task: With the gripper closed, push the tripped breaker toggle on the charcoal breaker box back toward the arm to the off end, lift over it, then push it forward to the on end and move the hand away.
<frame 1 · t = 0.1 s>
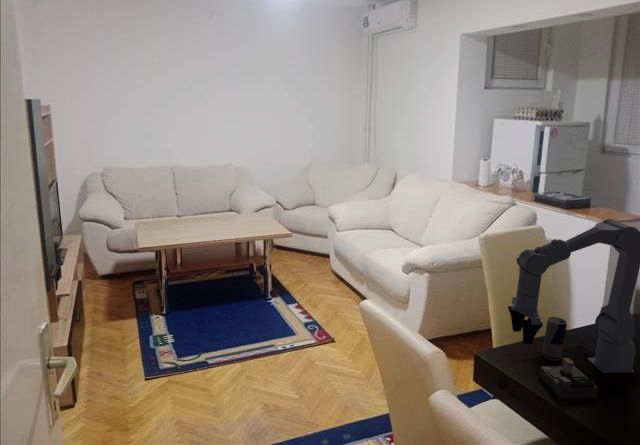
hand: (521, 337, 144), 10 cm above the table, tool pointing down, fingers open, 7 cm apart
breaker box: (566, 386, 138), on the table
energy drink: (551, 357, 154), on the table
breaker toggle: (567, 366, 138), point 5 cm above the table, slide at 0.0 cm
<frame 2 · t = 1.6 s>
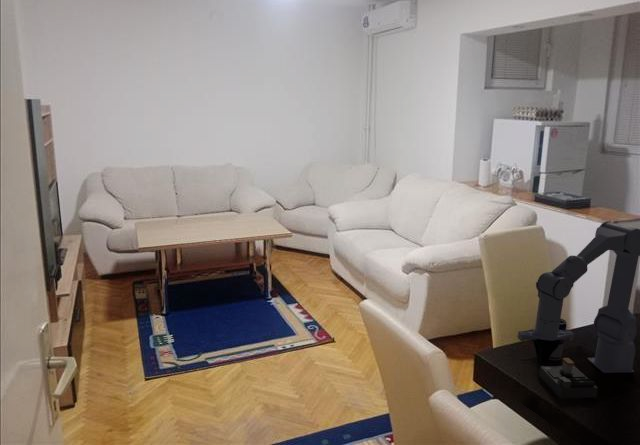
hand: (541, 363, 137), 7 cm above the table, tool pointing down, fingers closed
nothing on the table moved.
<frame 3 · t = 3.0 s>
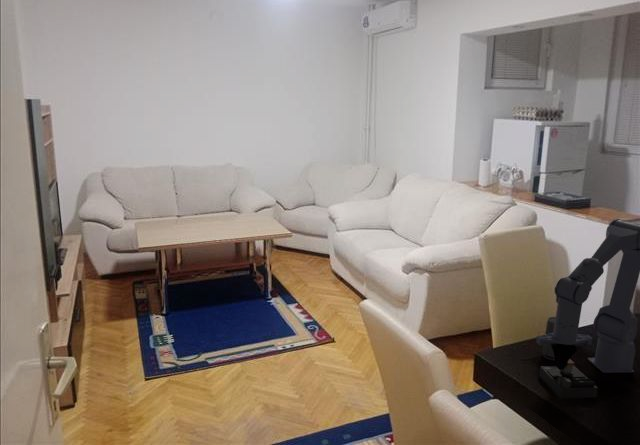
hand: (559, 367, 138), 5 cm above the table, tool pointing down, fingers closed
breaker toggle: (567, 366, 138), point 5 cm above the table, slide at 0.0 cm, touching gripper
everything else where it was.
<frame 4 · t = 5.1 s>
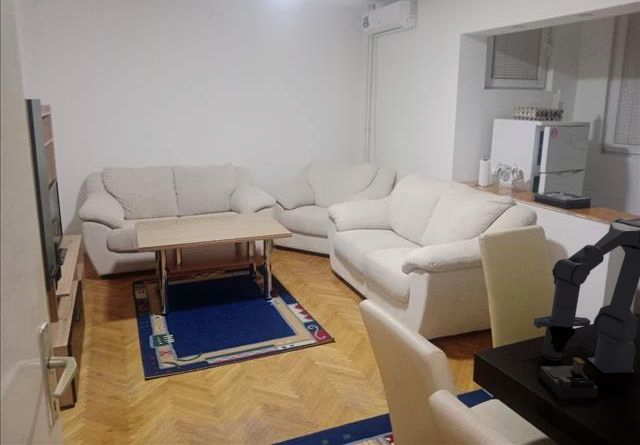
hand: (557, 350, 136), 10 cm above the table, tool pointing down, fingers closed
breaker toggle: (578, 366, 138), point 5 cm above the table, slide at -3.0 cm
everything else where it was.
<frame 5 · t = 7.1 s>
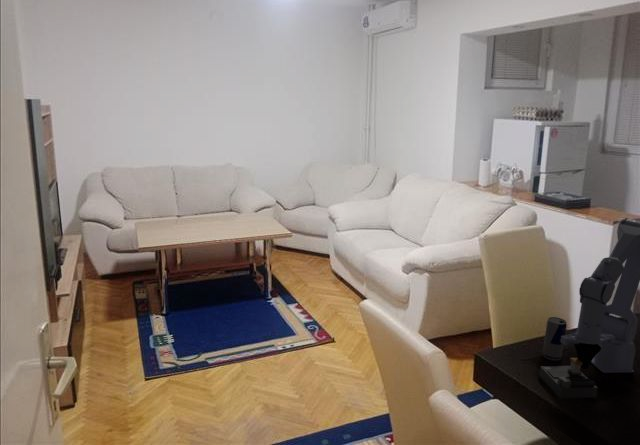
hand: (582, 367, 138), 5 cm above the table, tool pointing down, fingers closed
breaker toggle: (575, 366, 138), point 5 cm above the table, slide at -2.3 cm, touching gripper
everything else where it was.
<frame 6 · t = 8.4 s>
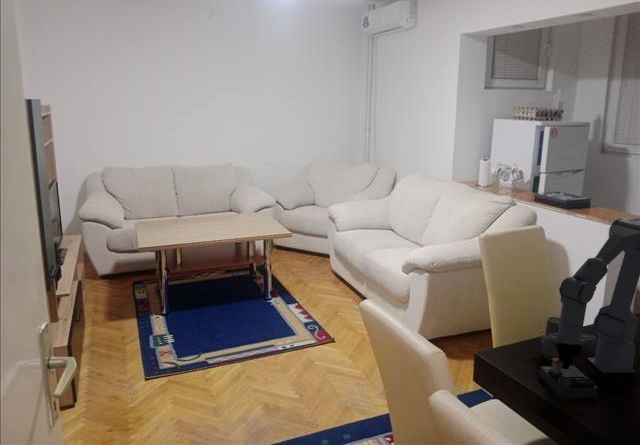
hand: (564, 367, 138), 5 cm above the table, tool pointing down, fingers closed
breaker toggle: (556, 366, 137), point 5 cm above the table, slide at 3.0 cm, touching gripper
everything else where it was.
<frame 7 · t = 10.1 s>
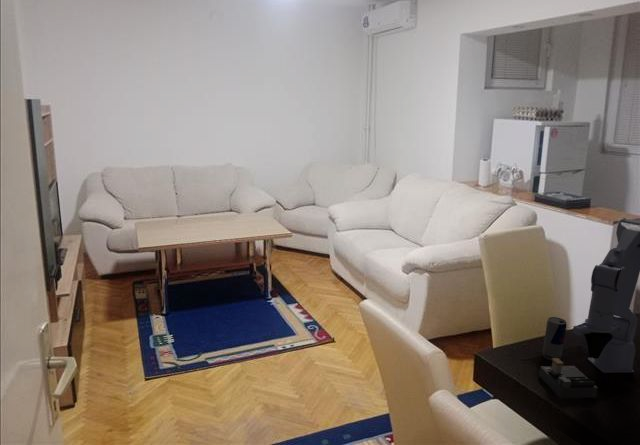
hand: (593, 356, 135), 10 cm above the table, tool pointing down, fingers closed
breaker toggle: (556, 366, 137), point 5 cm above the table, slide at 3.0 cm
everything else where it was.
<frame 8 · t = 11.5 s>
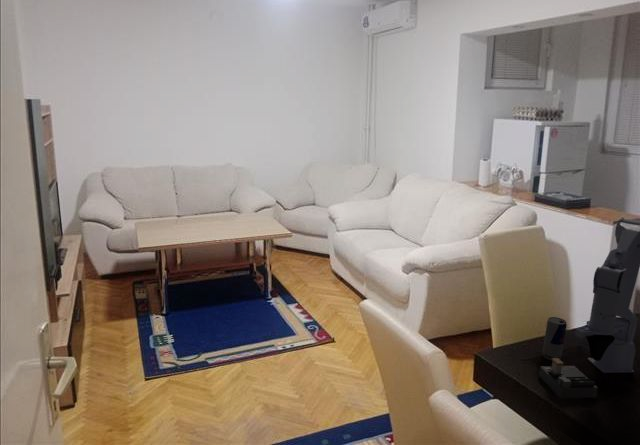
hand: (595, 358, 134), 9 cm above the table, tool pointing down, fingers closed
nothing on the table moved.
at the end: breaker toggle slide at 3.0 cm; energy drink moved 0.2 cm from its start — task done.
